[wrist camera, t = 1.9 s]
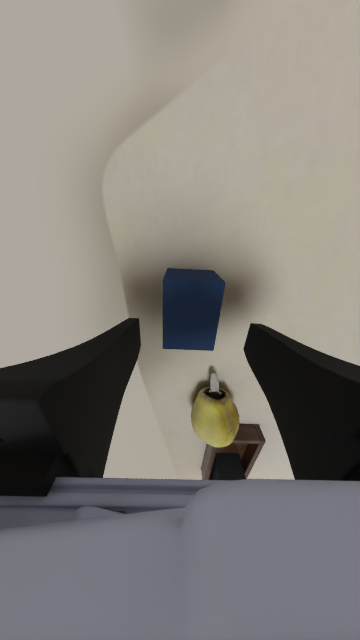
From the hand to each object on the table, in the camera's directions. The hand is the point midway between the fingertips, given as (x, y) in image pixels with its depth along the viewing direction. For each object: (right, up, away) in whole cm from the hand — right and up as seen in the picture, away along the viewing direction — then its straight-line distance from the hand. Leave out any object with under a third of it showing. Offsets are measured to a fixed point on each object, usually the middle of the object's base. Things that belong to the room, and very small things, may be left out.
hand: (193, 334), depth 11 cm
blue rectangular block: (0, +3, +6) cm, 7 cm away
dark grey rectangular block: (+7, -26, +20) cm, 33 cm away
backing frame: (+8, -22, +19) cm, 30 cm away
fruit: (+3, -9, +12) cm, 16 cm away
